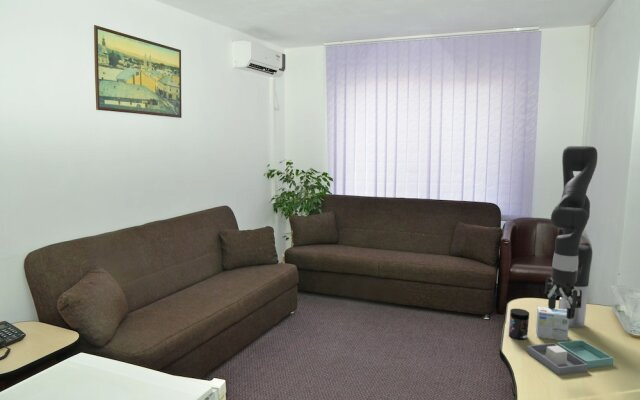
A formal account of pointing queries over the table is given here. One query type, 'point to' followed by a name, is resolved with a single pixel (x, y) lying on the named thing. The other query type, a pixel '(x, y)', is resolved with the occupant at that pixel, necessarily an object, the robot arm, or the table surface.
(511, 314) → the supplement container
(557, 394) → the table surface
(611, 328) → the table surface
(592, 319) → the table surface
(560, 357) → the stone block
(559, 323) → the light bulb box
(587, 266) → the robot arm
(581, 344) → the bin
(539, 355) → the bin
